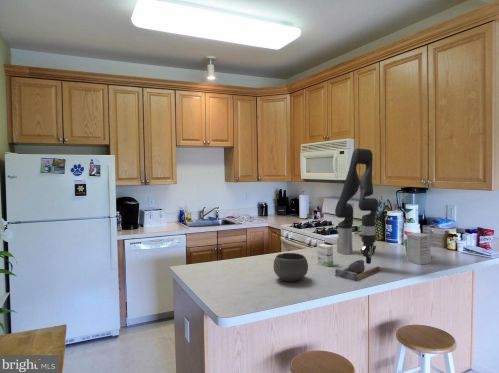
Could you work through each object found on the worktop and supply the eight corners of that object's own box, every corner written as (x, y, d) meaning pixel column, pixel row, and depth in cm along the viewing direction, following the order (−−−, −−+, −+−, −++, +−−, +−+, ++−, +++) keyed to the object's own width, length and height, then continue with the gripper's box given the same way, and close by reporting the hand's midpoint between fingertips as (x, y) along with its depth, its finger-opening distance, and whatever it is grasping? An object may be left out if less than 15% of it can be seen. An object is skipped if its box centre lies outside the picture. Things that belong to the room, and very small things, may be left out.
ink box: (333, 265, 202) (333, 245, 201) (327, 266, 199) (327, 247, 198) (322, 262, 209) (322, 243, 208) (317, 263, 206) (316, 244, 205)
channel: (335, 275, 182) (335, 269, 182) (360, 266, 198) (360, 260, 198) (355, 281, 173) (355, 274, 172) (380, 270, 189) (380, 264, 189)
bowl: (273, 274, 187) (272, 252, 186) (305, 274, 186) (305, 251, 186) (274, 285, 169) (273, 260, 169) (310, 285, 169) (310, 260, 168)
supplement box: (431, 263, 201) (431, 234, 200) (419, 265, 197) (419, 236, 196) (417, 259, 209) (417, 232, 209) (406, 261, 206) (406, 233, 205)
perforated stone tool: (351, 278, 176) (351, 265, 176) (343, 276, 180) (342, 263, 180) (367, 272, 186) (367, 260, 185) (359, 270, 190) (359, 258, 190)
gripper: (368, 230, 199) (368, 259, 200) (356, 234, 191) (356, 264, 192) (380, 232, 193) (380, 262, 195) (368, 236, 185) (368, 267, 186)
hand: (368, 263), depth 193 cm, fingers closed
